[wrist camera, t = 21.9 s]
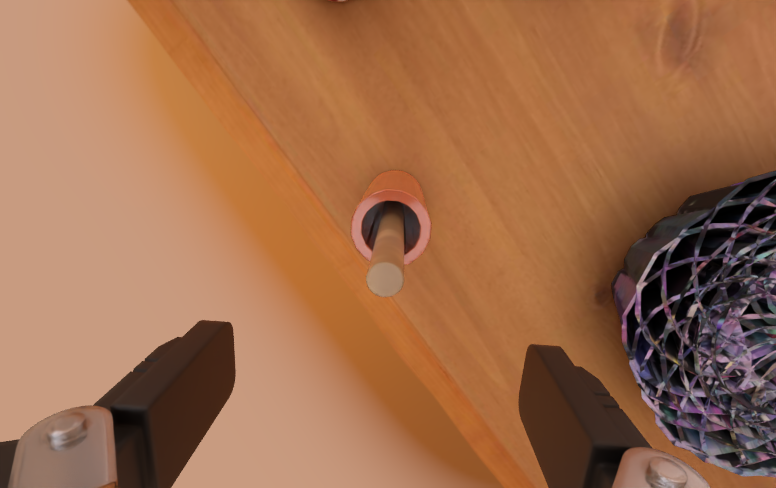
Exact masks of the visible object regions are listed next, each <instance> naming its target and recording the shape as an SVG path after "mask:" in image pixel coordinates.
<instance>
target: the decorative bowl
mask: <svg viewBox="0 0 776 488" xmlns="http://www.w3.org/2000/svg"><path fill="white" fill-rule="evenodd" d="M611 284H612V292H613V298H614V301H615V305H616V308H617V312H618V315H619V319H620V322H621V326H622V344H623V346H624V349H625V351H626V353H627V356H628V358H629V360H630V362H629V365H630V367H631V370H632V372H633V374H634V377H635V379H636V381H637V384H638V386H639V387H640V388H641V393H642V399H643V400H644V401H645V402H646V403H647V405H648V406H649V407H650V408H651V409H652V411H653V412H654V413H655V418H656V424H657V425H658V426H659V428H660V429H661V430H662V431H663V433H664V434H665V435H666V436H667V437H668V439H669V440H670V441H671V442H672V444H673V445H675V446H678V447H680V448H683V449H686V450H689V451H691V452H692V453H693V454H695V455H696V456H697V457H699V458H700V459H701V460H702V461H704V462H706V463H711V464H714V465H716V466H719V467H721V468H723V469H726V470H728V471H731V472H733V473H736V474H738V475H741V476H760V475H762V476H767V477H776V171H773V172H769V173H766V174H762V175H759V176H755V177H752V178H748V179H747V180H745V181H744V182H741V183H737V184H733V185H731V186H729V187H725V188H721V189H717V190H713V191H709V192H704V193H701V194H697V195H693V196H690V197H689V198H688V199H687V200H686V201H685V203H684V204H683V205H682V206H681V207H680V208H679V210H678V213H677V215H675V216H670V217H665V218H663V219H662V220H660V221H659V222H658V223H656V224H655V225H654V226H653V227H652V228H651V229H650V230H649V232H648V233H647V234H646V238H642V239H639V240H638V241H637V242H636V243H634V244H633V245H632V246H631V248H630V249H629V251H628V253H627V255H626V257H625V259H624V269H622V270H620V271H618V273H617V274H616V276H615V278H614V280H613V282H612V283H611Z"/></svg>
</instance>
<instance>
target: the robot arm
mask: <svg viewBox="0 0 776 488" xmlns="http://www.w3.org/2000/svg"><path fill="white" fill-rule="evenodd" d="M234 382H235V355H234V336H233V327H232V325H231V323H230V322H220V321H206V320H202V321H199V322H198V323H197V324H196V325H195V326H194V327H193V328H191V329H190V330H189V331H188V332H187V333H186V334H185V335H184V336H183V337H177V338H175V339H173V340H171V341H169V342H167V343H165V344H163V345H161V346H159V347H158V348H157V349H155V350H154V351H153V352H152V353H151V354H150V355H149V356H148V357H147V358H145V361H142V362H141V363H140V364H139V365H138V366H136V367H135V368H134V370H133V372H130V373H129V374H127V375H126V376H125V377H124V378H123V379H122V380H121V381H120V382H118V383H117V384H116V385H115V386H114V387H113V388H112V389H111V390H110V391H109V392H107V393H106V394H105V395H104V396H103V397H102V398H101V399H99V400H98V401H97V402H96V403H95V404H94V405H93V406H81V407H75V408H71V409H67V410H64V411H61V412H58V413H56V414H53V415H51V416H49V417H47V418H45V419H43V420H41V421H40V422H38V423H37V424H35V425H34V426H32V427H31V428H30V429H29V430H27V431H26V432H25V433H24V434H23V436H22V437H21V438H20V439H19V440H12V441H6V442H0V488H171V487H172V485H173V484H174V482H175V481H176V479H177V478H178V476H179V474H180V473H181V471H182V470H183V468H184V467H185V465H186V464H187V462H188V460H189V459H190V457H191V456H192V454H193V453H194V451H195V449H196V448H197V446H198V445H199V443H200V442H201V440H202V439H203V437H204V436H205V434H206V433H207V431H208V430H209V428H210V426H211V425H212V423H213V422H214V420H215V419H216V417H217V416H218V414H219V412H220V411H221V409H222V408H223V406H224V405H225V403H226V402H227V400H228V399H229V397H230V395H231V393H232V390H233V387H234ZM519 412H520V417H521V420H522V423H523V425H524V428H525V430H526V433H527V435H528V437H529V440H530V442H531V445H532V447H533V450H534V452H535V455H536V457H537V460H538V462H539V465H540V467H541V470H542V472H543V475H544V477H545V479H546V482H547V484H548V487H549V488H710V486H709V484H708V483H707V482H706V480H705V479H704V478H703V477H702V476H701V475H700V474H699V473H698V472H697V471H695V470H694V469H693V468H692V467H690V466H689V465H688V464H686V463H685V462H683V461H681V460H680V459H678V458H676V457H674V456H672V455H670V454H667V453H665V452H663V451H659V450H656V449H652V447H651V446H650V445H649V443H648V442H647V441H646V440H645V438H644V437H643V436H642V434H641V433H640V432H639V431H638V429H637V428H636V427H635V425H634V424H633V423H632V422H631V420H630V419H629V418H628V416H627V415H626V414H625V413H624V411H623V410H622V409H619V405H618V404H617V402H616V401H615V400H614V398H613V397H611V396H610V393H609V392H608V391H607V389H606V388H605V387H604V386H603V384H602V383H601V382H600V380H599V379H597V378H596V377H595V376H593V375H592V374H591V373H589V372H588V371H586V370H585V369H584V368H582V367H577V366H574V364H573V363H572V361H571V360H570V359H569V357H568V356H567V355H566V353H565V352H564V350H563V349H562V348H561V347H559V346H548V345H534V344H531V345H529V347H528V349H527V352H526V358H525V363H524V369H523V375H522V381H521V386H520V392H519Z"/></svg>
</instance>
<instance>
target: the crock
mask: <svg viewBox="0 0 776 488" xmlns="http://www.w3.org/2000/svg"><path fill="white" fill-rule="evenodd" d="M385 201H399V202H401V203H403V204H404V265H407V264H410V263H411V262H413V261H414V260H415V259H417V258H418V257H419V256H420V255H422V253H423V252H424V250H425V249H426V247H427V245H428V243H429V241H430V237H431V221H430V217H429V214H428V210H427V207H426V203H425V200H424V196H423V193H422V190H421V187H420V185H419V183H418V182H417V180H416V179H415V178H414V177H413V176H412V175H410V174H408V173H406V172H404V171H400V170H390V171H386V172H383V173H382V174H380V175H378V176H377V177H376V178H375V179H374V180H373V181H372V182H371V184H370V186H369V187H368V189H367V191H366V192H365V194H364V196H363V198H362V199H361V201H360V203H359V204H358V206H357V208H356V210H355V212H354V214H353V217H352V220H351V237H352V239H353V242H354V245H355V247H356V249H357V250H358V251H359V252H360V253H361V254H362V256H363V257H364V258H365V259H367V261H369V262H370V260H371V256H372V252H373V248H374V244H375V240H376V236H377V232H378V228H379V224H380V220H381V216H382V212H383V208H384V204H385Z"/></svg>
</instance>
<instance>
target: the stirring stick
mask: <svg viewBox="0 0 776 488" xmlns="http://www.w3.org/2000/svg"><path fill="white" fill-rule="evenodd" d="M366 282H367V286H368V288H369V289H370V290H371V291H372V292H373V293H374V294H375V295H377V296H380V297H391V296H394V295H396V294H397V293H398V292H399V291H400V290H401V289H402V287H403V285H404V204H403V203H401V202H399V201H385V204H384V208H383V212H382V216H381V220H380V224H379V228H378V232H377V236H376V240H375V244H374V248H373V252H372V256H371V260H370V264H369V268H368V272H367V276H366Z"/></svg>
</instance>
